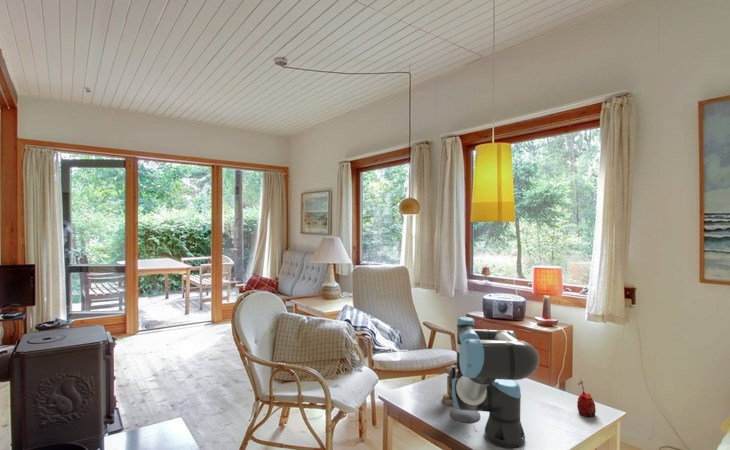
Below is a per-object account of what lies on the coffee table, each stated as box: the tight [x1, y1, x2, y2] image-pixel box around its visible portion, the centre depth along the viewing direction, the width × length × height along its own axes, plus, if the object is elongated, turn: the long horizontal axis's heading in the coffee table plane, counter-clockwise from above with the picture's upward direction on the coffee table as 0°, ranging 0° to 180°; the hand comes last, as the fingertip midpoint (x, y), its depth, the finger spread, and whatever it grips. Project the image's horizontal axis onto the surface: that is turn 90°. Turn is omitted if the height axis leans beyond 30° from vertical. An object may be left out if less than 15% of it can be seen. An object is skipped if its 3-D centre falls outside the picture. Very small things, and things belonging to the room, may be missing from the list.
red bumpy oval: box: [576, 378, 597, 418], centre depth 170 cm, size 8×7×15 cm
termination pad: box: [449, 407, 481, 424], centre depth 169 cm, size 13×13×1 cm
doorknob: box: [442, 366, 458, 407], centre depth 181 cm, size 10×10×15 cm
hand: (465, 403), depth 169 cm, fingers closed on white cup, 7 cm apart
